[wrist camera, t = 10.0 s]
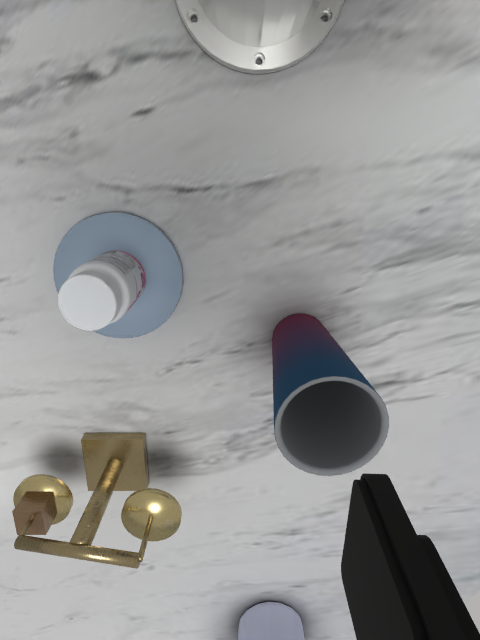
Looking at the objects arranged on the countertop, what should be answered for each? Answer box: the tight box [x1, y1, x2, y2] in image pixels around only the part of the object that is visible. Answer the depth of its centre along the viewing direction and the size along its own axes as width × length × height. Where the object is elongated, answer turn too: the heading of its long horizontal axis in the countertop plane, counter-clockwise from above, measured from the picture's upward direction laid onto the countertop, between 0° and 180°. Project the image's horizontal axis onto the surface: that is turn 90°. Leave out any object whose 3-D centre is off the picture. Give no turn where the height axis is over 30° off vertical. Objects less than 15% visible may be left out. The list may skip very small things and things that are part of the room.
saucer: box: [54, 212, 183, 338], centre depth 37 cm, size 11×11×1 cm
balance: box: [12, 433, 182, 568], centre depth 38 cm, size 6×15×13 cm, turn 90°
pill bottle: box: [58, 250, 146, 331], centre depth 33 cm, size 5×5×8 cm
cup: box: [272, 314, 389, 476], centre depth 33 cm, size 7×7×15 cm
